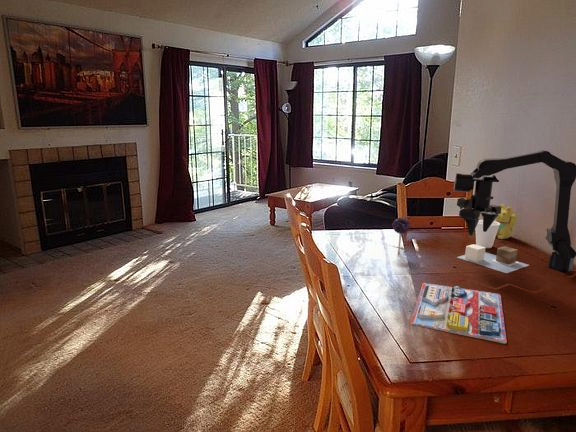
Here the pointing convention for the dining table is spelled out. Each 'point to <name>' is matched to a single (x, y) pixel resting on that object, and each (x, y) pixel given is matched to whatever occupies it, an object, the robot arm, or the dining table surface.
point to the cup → (486, 234)
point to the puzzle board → (460, 312)
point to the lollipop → (400, 228)
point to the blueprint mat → (497, 263)
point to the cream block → (475, 253)
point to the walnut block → (506, 255)
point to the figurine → (506, 222)
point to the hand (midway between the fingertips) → (477, 233)
